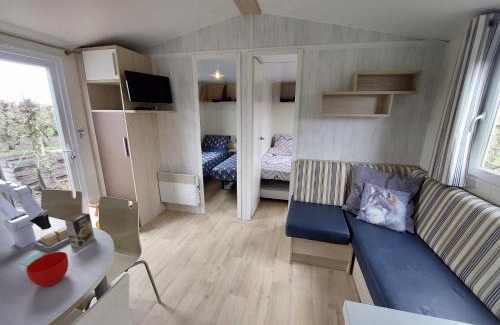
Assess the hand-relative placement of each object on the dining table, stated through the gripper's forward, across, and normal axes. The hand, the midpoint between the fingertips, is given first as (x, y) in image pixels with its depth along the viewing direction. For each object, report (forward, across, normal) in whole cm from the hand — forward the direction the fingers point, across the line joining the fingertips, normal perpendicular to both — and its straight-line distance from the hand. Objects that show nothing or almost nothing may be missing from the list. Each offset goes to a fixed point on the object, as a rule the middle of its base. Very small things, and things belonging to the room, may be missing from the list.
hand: (47, 228), depth 112 cm
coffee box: (+16, 0, -8) cm, 18 cm away
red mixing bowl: (+22, -21, +5) cm, 31 cm away
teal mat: (+11, -2, +10) cm, 15 cm away
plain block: (+9, +10, -1) cm, 13 cm away
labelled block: (+8, +7, +4) cm, 12 cm away
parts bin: (+9, +9, +1) cm, 13 cm away
